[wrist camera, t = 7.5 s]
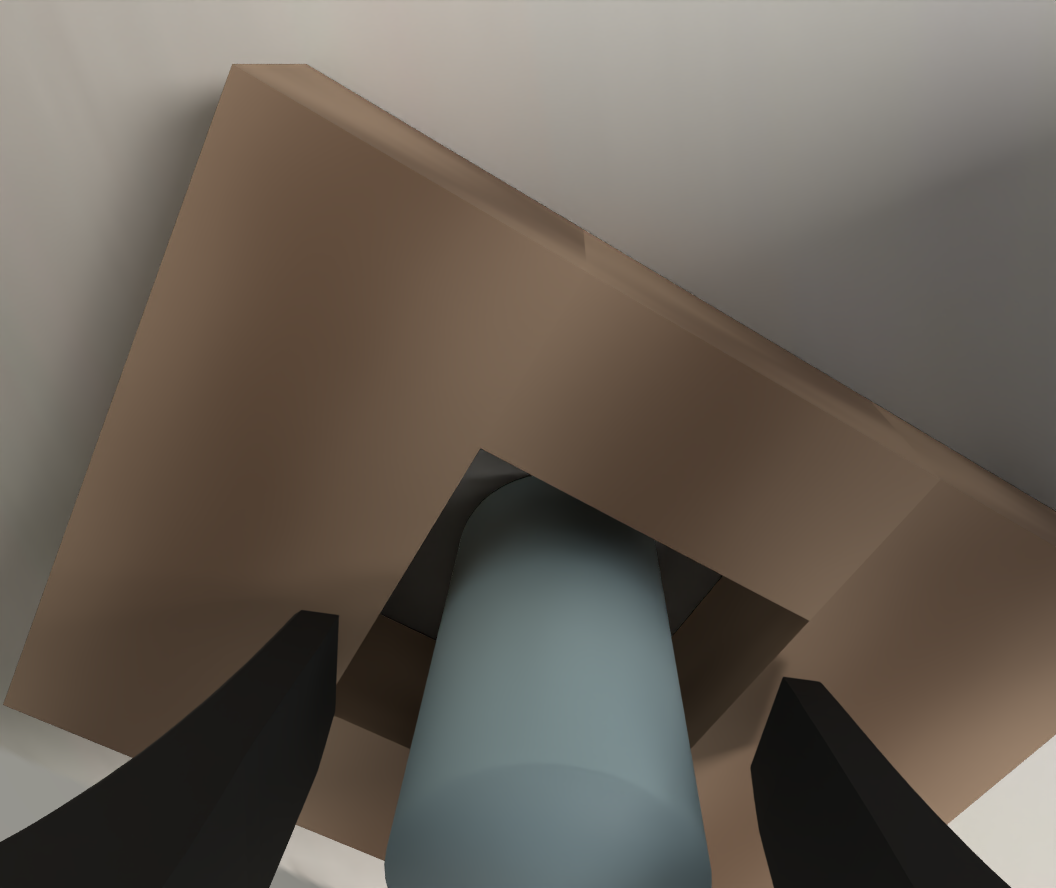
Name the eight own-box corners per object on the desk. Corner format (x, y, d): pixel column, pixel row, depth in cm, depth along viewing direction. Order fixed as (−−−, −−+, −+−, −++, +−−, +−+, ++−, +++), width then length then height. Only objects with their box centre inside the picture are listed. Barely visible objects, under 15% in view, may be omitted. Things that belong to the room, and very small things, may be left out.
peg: (672, 485, 15) (744, 785, 9) (640, 648, 17) (680, 997, 11) (464, 462, 15) (386, 745, 9) (453, 628, 17) (382, 964, 11)
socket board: (1077, 524, 15) (1188, 624, 12) (709, 874, 20) (731, 1002, 17) (306, 64, 12) (232, 64, 10) (92, 602, 17) (2, 704, 14)
